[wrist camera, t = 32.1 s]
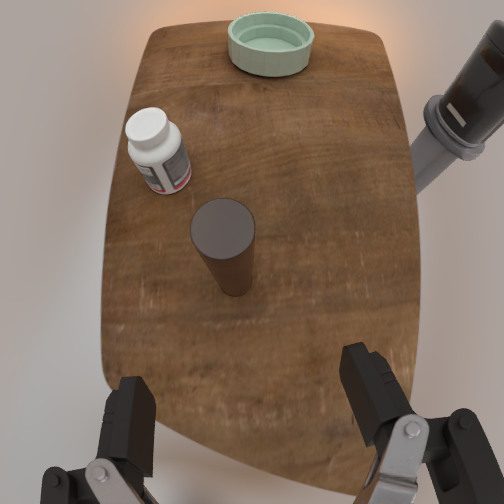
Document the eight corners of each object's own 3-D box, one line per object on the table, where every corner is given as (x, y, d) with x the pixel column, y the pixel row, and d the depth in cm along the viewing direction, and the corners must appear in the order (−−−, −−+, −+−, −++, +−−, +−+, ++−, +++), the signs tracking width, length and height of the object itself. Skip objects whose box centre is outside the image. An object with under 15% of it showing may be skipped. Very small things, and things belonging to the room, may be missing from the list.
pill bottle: (186, 149, 34) (169, 94, 24) (197, 186, 32) (180, 134, 23) (144, 164, 33) (115, 114, 24) (152, 202, 32) (120, 156, 22)
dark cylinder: (251, 265, 30) (255, 197, 15) (251, 296, 29) (255, 260, 14) (220, 264, 30) (192, 197, 15) (219, 296, 29) (187, 259, 14)
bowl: (304, 39, 40) (308, 14, 35) (313, 83, 37) (319, 55, 32) (231, 36, 40) (230, 11, 35) (227, 80, 37) (225, 51, 32)
